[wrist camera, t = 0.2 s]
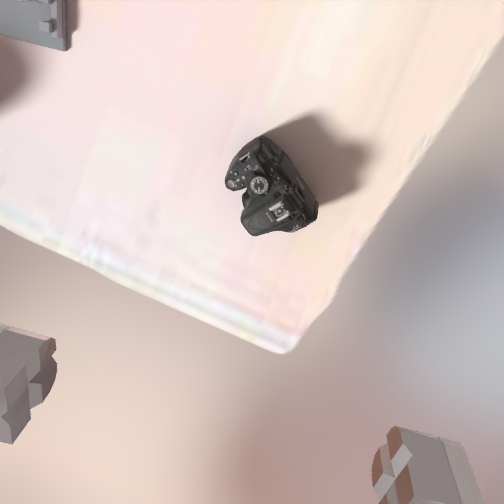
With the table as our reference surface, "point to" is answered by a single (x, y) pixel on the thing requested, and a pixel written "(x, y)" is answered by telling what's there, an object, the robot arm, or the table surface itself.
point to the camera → (270, 189)
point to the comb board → (35, 22)
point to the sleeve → (31, 1)
